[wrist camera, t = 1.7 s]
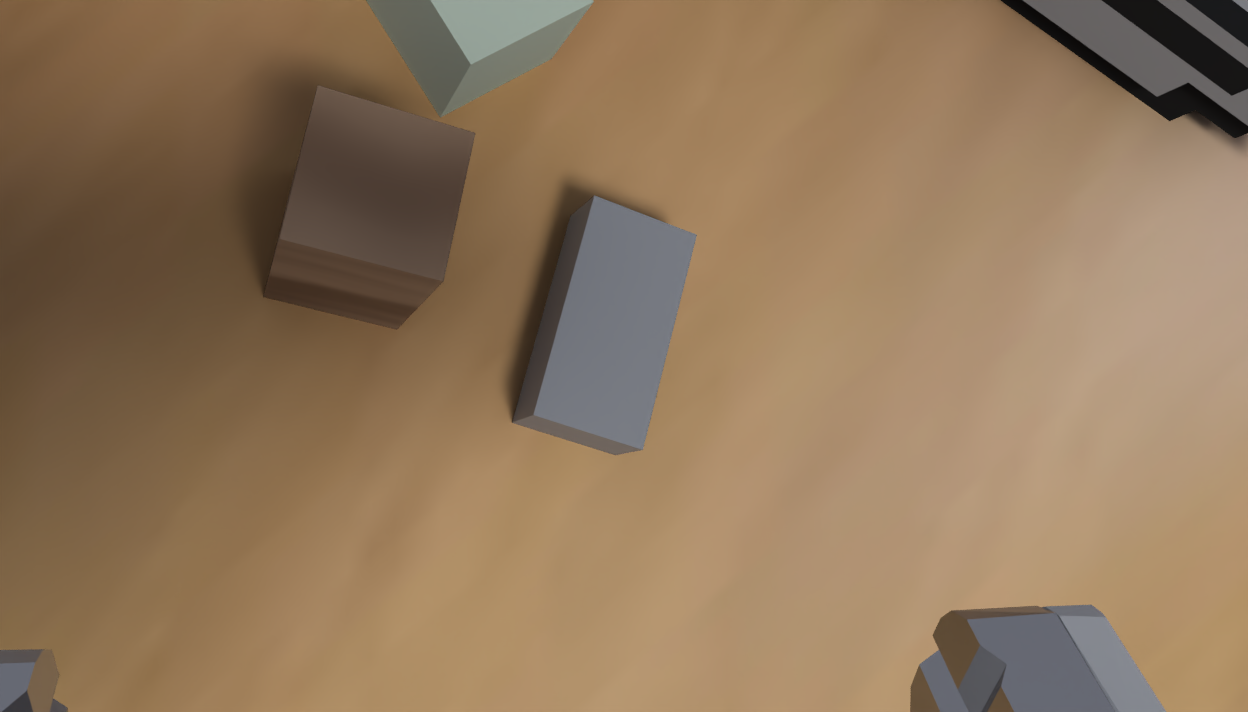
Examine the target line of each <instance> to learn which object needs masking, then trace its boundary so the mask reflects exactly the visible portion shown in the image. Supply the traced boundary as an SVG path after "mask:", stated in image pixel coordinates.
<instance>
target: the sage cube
mask: <svg viewBox="0 0 1248 712" xmlns="http://www.w3.org/2000/svg"><path fill="white" fill-rule="evenodd" d="M366 1H367V3H368V4H369V6H370V7H371V9H372V10H373V12H374V14H375V15H376V17H377V18H378V20H379V22H380V23H381V25H382V26H383V28H384V29H385V31H386V33H387V34H388V36H389V37H390V39H391V41H392V42H393V44H394V45H395V47H396V48H397V50H398V52H399V53H400V55H401V56H402V58H403V59H404V61H405V63H406V64H407V66H408V67H409V69H410V71H411V72H412V74H413V75H414V77H415V78H416V80H417V82H418V83H419V85H420V86H421V88H422V90H423V91H424V93H425V94H426V96H427V97H428V99H429V101H430V102H431V104H432V105H433V107H434V109H435V110H436V112H437V113H438V115H439V116H440V117H442V116H444V115H446V114H448V113H450V112H452V111H454V110H455V109H457V108H459V107H461V106H463V105H465V104H467V103H469V102H471V101H473V100H474V99H476V98H478V97H480V96H482V95H484V94H486V93H488V92H490V91H491V90H493V89H495V88H497V87H499V86H501V85H503V84H505V83H507V82H509V81H510V80H512V79H514V78H516V77H518V76H520V75H522V74H524V73H526V72H528V71H529V70H531V69H533V68H535V67H537V66H539V65H541V64H543V63H545V62H547V61H548V60H550V59H552V57H553V56H554V55H555V53H556V52H557V51H558V49H559V48H560V47H561V45H562V44H563V43H564V41H565V40H566V38H567V37H568V36H569V34H570V33H571V32H572V30H573V29H574V28H575V26H576V25H577V24H578V22H579V21H580V20H581V18H582V17H583V16H584V14H585V13H586V11H587V10H588V9H589V7H590V6H591V5H592V3H593V2H594V1H593V0H366Z"/></svg>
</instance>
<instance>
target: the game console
mask: <svg viewBox="0 0 1248 712" xmlns="http://www.w3.org/2000/svg"><path fill="white" fill-rule="evenodd" d="M1001 1H1002V2H1004V3H1005V4H1006V5H1008V6H1009V7H1011V8H1012V9H1013V10H1015V11H1016V12H1018V13H1019V14H1020V15H1022V16H1023V17H1025V18H1026V19H1027V20H1029V21H1030V22H1032V23H1033V24H1034V25H1036V26H1037V27H1039V28H1040V29H1041V30H1043V31H1044V32H1046V33H1047V34H1048V35H1050V36H1051V37H1053V38H1054V39H1055V40H1057V41H1058V42H1060V43H1061V44H1062V45H1064V46H1065V47H1067V48H1068V49H1069V50H1071V51H1072V52H1074V53H1075V54H1076V55H1078V56H1079V57H1081V58H1082V59H1083V60H1085V61H1086V62H1088V63H1089V64H1090V65H1092V66H1093V67H1095V68H1096V69H1097V70H1099V71H1100V72H1102V73H1103V74H1104V75H1106V76H1107V77H1109V78H1110V79H1111V80H1113V81H1114V82H1116V83H1117V84H1118V85H1120V86H1121V87H1123V88H1124V89H1125V90H1127V91H1128V92H1130V93H1131V94H1132V95H1134V96H1135V97H1137V98H1138V99H1139V100H1141V101H1142V102H1144V103H1145V104H1146V105H1148V106H1149V107H1151V108H1152V109H1153V110H1155V111H1156V112H1158V113H1159V114H1160V115H1162V116H1163V117H1165V118H1166V119H1167V120H1169V121H1171V120H1173V119H1175V118H1178V117H1180V116H1182V115H1185V114H1187V113H1189V112H1192V111H1194V110H1196V111H1198V112H1199V113H1200V114H1202V115H1203V116H1205V117H1206V118H1207V119H1209V120H1210V121H1212V122H1213V123H1214V124H1216V125H1217V126H1218V127H1220V128H1221V129H1223V130H1224V131H1225V132H1227V133H1228V134H1230V135H1231V136H1232V137H1234V138H1236V137H1239V136H1242V135H1244V134H1247V133H1248V0H1001Z"/></svg>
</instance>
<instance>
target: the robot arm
mask: <svg viewBox="0 0 1248 712" xmlns="http://www.w3.org/2000/svg"><path fill="white" fill-rule="evenodd" d="M933 637H934V640H935V642H936V644H937V646H938V648H939V650H938V651H937V652H936V653H934V654H933V655H932V656H930V657H929V658H928V659H926V660H925V661H924V662H922V663H921V664H920V665H919V667H918V669H917V672H916V675H915V677H914V680H913V682H912V685H911V702H910V712H1166V711H1165V709H1164V708H1163V706H1162V704H1161V703H1160V701H1159V700H1158V698H1157V697H1156V695H1155V694H1154V692H1153V690H1152V689H1151V687H1150V686H1149V684H1148V683H1147V681H1146V679H1145V678H1144V676H1143V675H1142V673H1141V672H1140V670H1139V669H1138V667H1137V665H1136V664H1135V662H1134V661H1133V659H1132V658H1131V656H1130V654H1129V653H1128V651H1127V650H1126V648H1125V647H1124V645H1123V643H1122V642H1121V640H1120V639H1119V637H1118V636H1117V634H1116V633H1115V631H1114V629H1113V628H1112V626H1111V625H1110V623H1109V622H1108V620H1107V618H1106V617H1105V616H1104V614H1103V613H1102V612H1100V611H1099V610H1098V609H1096V608H1095V607H1094V606H1092V605H1071V606H1048V607H1039V606H1025V607H1007V608H989V609H971V610H953V611H950V612H949V613H947V614H946V615H944V616H943V617H942V618H940V621H939V623H938V625H937V627H936V629H935V631H934V633H933ZM58 678H59V672H58V669H57V665H56V662H55V659H54V655H53V652H52V650H45V649H40V650H0V712H68V708H67V707H65V706H64V705H62V704H61V703H59V702H58V701H56V700H55V699H53V697H54V693H55V689H56V685H57V682H58Z"/></svg>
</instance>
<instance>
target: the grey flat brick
mask: <svg viewBox="0 0 1248 712" xmlns="http://www.w3.org/2000/svg"><path fill="white" fill-rule="evenodd" d="M696 236H697V235H696V234H693V233H691V232H688V231H685V230H683V229H680V228H678V227H675V226H672V225H670V224H667V223H665V222H662V221H659V220H657V219H654V218H652V217H649V216H646V215H644V214H641V213H639V212H636V211H633V210H631V209H628V208H626V207H623V206H620V205H618V204H615V203H613V202H610V201H608V200H605V199H602V198H600V197H597V196H595V195H594V196H593V197H592V198H591V199H590V200H589V201H587V202H586V203H585V204H584V205H583V206H582V207H580V208H579V209H578V210H577V211H576V212H575V213H573V214H572V215H571V216H570V219H569V223H568V227H567V230H566V234H565V237H564V241H563V244H562V248H561V251H560V255H559V258H558V262H557V266H556V269H555V273H554V276H553V280H552V283H551V287H550V290H549V294H548V297H547V301H546V304H545V308H544V312H543V315H542V319H541V322H540V326H539V329H538V333H537V336H536V340H535V343H534V347H533V351H532V354H531V358H530V361H529V365H528V368H527V372H526V375H525V379H524V382H523V386H522V389H521V393H520V397H519V400H518V404H517V407H516V411H515V414H514V418H513V421H512V423H515V424H518V425H521V426H524V427H527V428H531V429H534V430H537V431H540V432H543V433H546V434H550V435H553V436H556V437H559V438H562V439H565V440H569V441H572V442H575V443H578V444H581V445H585V446H588V447H591V448H594V449H597V450H600V451H604V452H607V453H610V454H613V455H619V454H624V453H629V452H634V451H639V450H643V446H644V442H645V438H646V434H647V431H648V427H649V423H650V419H651V415H652V411H653V407H654V403H655V399H656V395H657V391H658V387H659V383H660V379H661V375H662V371H663V367H664V363H665V359H666V355H667V351H668V347H669V343H670V339H671V335H672V331H673V327H674V323H675V319H676V315H677V311H678V307H679V303H680V299H681V295H682V291H683V287H684V283H685V280H686V276H687V272H688V268H689V264H690V260H691V256H692V252H693V248H694V244H695V240H696Z"/></svg>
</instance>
